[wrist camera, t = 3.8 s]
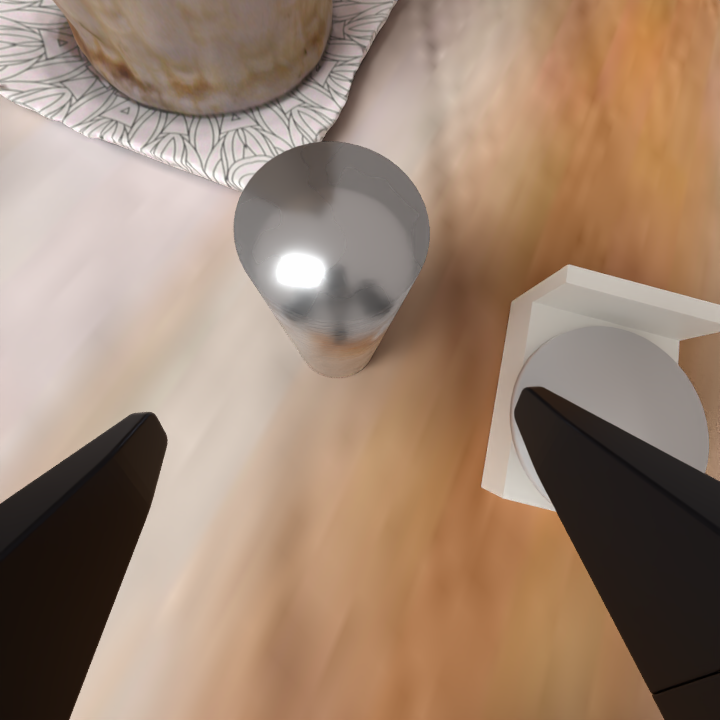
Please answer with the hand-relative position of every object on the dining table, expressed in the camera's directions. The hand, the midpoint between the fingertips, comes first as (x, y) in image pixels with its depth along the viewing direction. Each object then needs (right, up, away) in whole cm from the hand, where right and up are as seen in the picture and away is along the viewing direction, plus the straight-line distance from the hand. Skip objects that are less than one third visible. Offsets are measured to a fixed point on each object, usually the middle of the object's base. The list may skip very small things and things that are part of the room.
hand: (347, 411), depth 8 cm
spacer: (-1, +3, +12) cm, 12 cm away
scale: (+13, -2, +12) cm, 18 cm away
